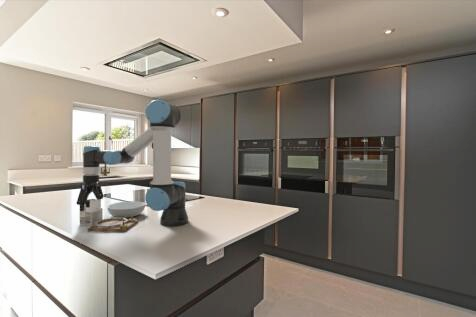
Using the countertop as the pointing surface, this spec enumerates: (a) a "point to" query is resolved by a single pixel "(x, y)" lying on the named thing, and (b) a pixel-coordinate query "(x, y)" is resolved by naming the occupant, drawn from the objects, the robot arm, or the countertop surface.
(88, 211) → the container
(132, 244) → the countertop surface
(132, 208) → the serving bowl
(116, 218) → the gear board
